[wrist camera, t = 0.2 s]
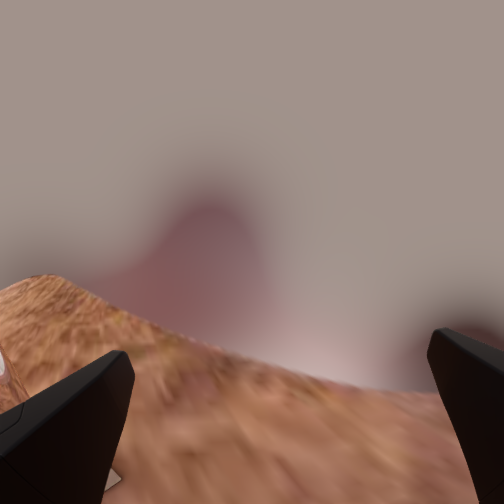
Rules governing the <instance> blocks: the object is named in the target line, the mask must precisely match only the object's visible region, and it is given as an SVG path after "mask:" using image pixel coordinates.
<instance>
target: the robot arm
mask: <svg viewBox="0 0 504 504" xmlns="http://www.w3.org/2000/svg"><path fill="white" fill-rule="evenodd" d="M427 359H428V362H429V365H430V368H431V370H432V373H433V376H434V379H435V382H436V385H437V388H438V391H439V394H440V397H441V399H442V402H443V404H444V406H445V409H446V411H447V413H448V416H449V418H450V420H451V423H452V425H453V428H454V430H455V433H456V435H457V438H458V440H459V443H460V446H461V448H462V451H463V454H464V456H465V459H466V462H467V465H468V468H469V471H470V474H471V477H472V480H473V484H474V487H475V490H476V494H477V497H478V501H480V502H479V504H504V351H502V350H499V349H497V348H494V347H492V346H490V345H487V344H485V343H482V342H480V341H478V340H475V339H473V338H471V337H468V336H466V335H463V334H461V333H458V332H456V331H454V330H451V329H449V328H446V327H445V328H439V329H436V330H434V331H433V333H432V336H431V340H430V343H429V347H428V350H427ZM134 381H135V373H134V370H133V367H132V365H131V362H130V359H129V357H128V354H127V353H126V352H125V351H119V350H112V351H110V352H109V353H107V354H105V355H104V356H102V357H100V358H99V359H97V360H95V361H93V362H92V363H90V364H88V365H87V366H85V367H83V368H81V369H80V370H78V371H76V372H74V373H73V374H71V375H69V376H68V377H66V378H64V379H62V380H61V381H59V382H57V383H55V384H54V385H52V386H50V387H48V388H47V389H45V390H43V391H41V392H40V393H38V394H36V395H34V396H33V397H31V398H29V399H27V400H26V401H25V402H22V403H20V404H18V405H17V406H15V407H13V408H11V409H9V410H7V411H5V412H4V413H2V414H0V504H101V502H102V498H103V494H104V490H105V487H106V483H107V480H108V476H109V473H110V469H111V466H112V462H113V459H114V456H115V453H116V449H117V446H118V443H119V440H120V437H121V434H122V430H123V427H124V424H125V421H126V417H127V412H128V408H129V403H130V398H131V394H132V389H133V385H134Z"/></svg>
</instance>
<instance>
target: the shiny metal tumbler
mask: <svg viewBox="0 0 504 504" xmlns="http://www.w3.org/2000/svg"><path fill="white" fill-rule="evenodd" d="M29 398H30V396H29V394H28V392H27V390H26V388H25V386H24V384H23V382H22V380H21V378H20V377H19V375H18V373H17V371H16V369H15V368H14V366H13V364H12V363H11V361H10V359H9V358H8V356H7V354H6V352H5V351H4V349H3V348H2V346H1V344H0V414H2V413H4V412H5V411H7V410H9V409H11V408H13V407H15V406H17V405H18V404H20V403H22V402H25V401H26V400H27V399H29Z"/></svg>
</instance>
